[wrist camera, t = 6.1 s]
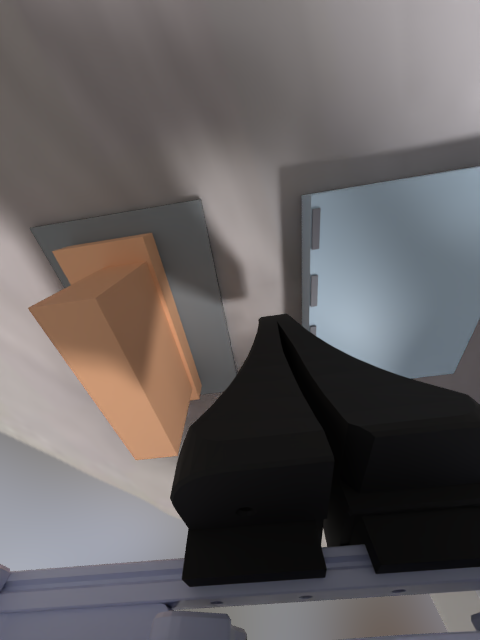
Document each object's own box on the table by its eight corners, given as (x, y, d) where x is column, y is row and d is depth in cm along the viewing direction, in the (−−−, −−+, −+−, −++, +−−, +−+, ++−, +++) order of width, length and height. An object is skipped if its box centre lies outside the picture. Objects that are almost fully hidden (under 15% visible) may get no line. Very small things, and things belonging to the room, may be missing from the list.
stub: (152, 232, 10) (84, 261, 5) (201, 385, 15) (187, 466, 10) (70, 245, 10) (-60, 284, 6) (146, 392, 15) (108, 474, 11)
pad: (200, 199, 10) (200, 199, 9) (239, 387, 16) (239, 389, 15) (33, 227, 10) (29, 227, 10) (132, 400, 16) (131, 402, 16)
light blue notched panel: (513, 160, 9) (559, 154, 8) (435, 358, 15) (455, 374, 13) (301, 195, 10) (311, 194, 8) (302, 375, 15) (308, 391, 14)
